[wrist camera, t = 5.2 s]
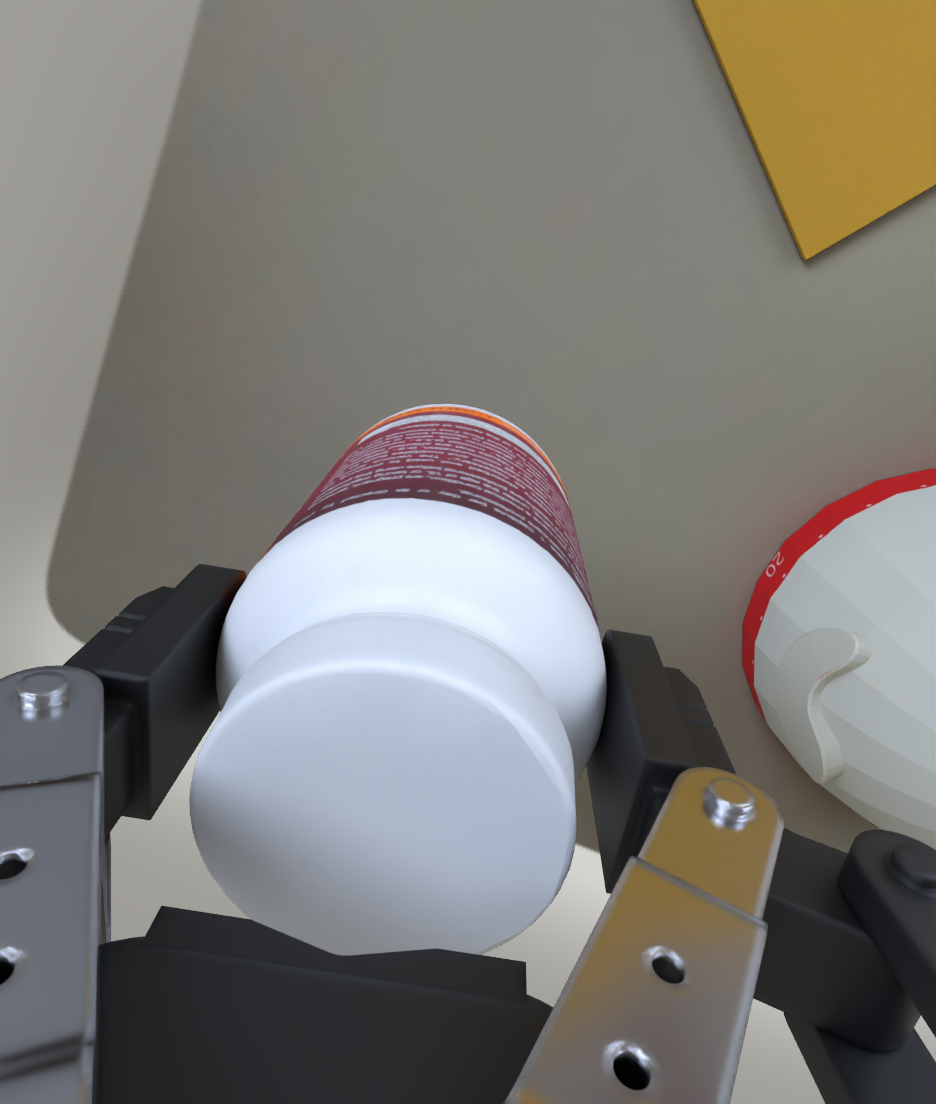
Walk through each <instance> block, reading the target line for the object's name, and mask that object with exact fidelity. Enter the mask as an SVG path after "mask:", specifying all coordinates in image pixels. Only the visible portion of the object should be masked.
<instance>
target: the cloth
mask: <svg viewBox="0 0 936 1104" xmlns="http://www.w3.org/2000/svg"><path fill="white" fill-rule="evenodd" d="M693 2H694V5H695V7H696V9H697V12H698V14H699V16H700V19H701V21H702V24H703V26H704V28H705V31H706V33H707V35H708V38H709V40H710V42H711V45H712V47H713V49H714V52H715V54H716V57H717V59H718V61H719V64H720V66H721V68H722V71H723V73H724V75H725V78H726V80H727V82H728V85H729V87H730V90H731V92H732V94H733V97H734V99H735V101H736V104H737V106H738V108H739V111H740V113H741V116H742V118H743V120H744V123H745V125H746V127H747V130H748V132H749V134H750V137H751V139H752V141H753V144H754V146H755V149H756V151H757V153H758V156H759V158H760V160H761V163H762V165H763V167H764V170H765V172H766V174H767V177H768V179H769V182H770V184H771V186H772V189H773V191H774V193H775V196H776V198H777V200H778V203H779V205H780V207H781V210H782V212H783V215H784V217H785V219H786V222H787V224H788V226H789V229H790V231H791V233H792V236H793V238H794V241H795V243H796V245H797V248H798V250H799V252H800V255H801V257H802V259H803V260H808V259H809V258H811V257H813V256H814V255H816V254H818V253H820V252H821V251H823V250H825V249H826V248H828V247H830V246H832V245H833V244H835V243H837V242H838V241H840V240H842V239H844V238H845V237H847V236H849V235H850V234H852V233H854V232H856V231H857V230H859V229H861V228H862V227H864V226H866V225H868V224H869V223H871V222H873V221H874V220H876V219H878V218H880V217H881V216H883V215H885V214H886V213H888V212H890V211H892V210H893V209H895V208H897V207H898V206H900V205H902V204H904V203H905V202H907V201H909V200H910V199H912V198H914V197H916V196H917V195H919V194H921V193H922V192H924V191H926V190H928V189H929V188H931V187H933V186H934V185H936V0H693Z"/></svg>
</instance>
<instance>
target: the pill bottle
mask: <svg viewBox="0 0 936 1104" xmlns="http://www.w3.org/2000/svg"><path fill="white" fill-rule="evenodd" d="M216 688H217V695H218V702H219V707H220V712H221V713H220V715H219V717H218V719H217V721H216V722H215V724H214V726H213V728H212V729H211V731H210V733H209V735H208V736H207V738H206V740H205V742H204V744H203V746H202V749H201V751H200V753H199V755H198V759H197V762H196V765H195V769H194V773H193V778H192V783H191V789H190V815H191V823H192V829H193V834H194V837H195V841H196V844H197V846H198V849H199V851H200V854H201V856H202V858H203V861H204V863H205V865H206V867H207V868H208V870H209V872H210V874H211V876H212V877H213V879H214V880H215V881H216V883H217V884H218V885H219V886H220V888H221V889H222V890H223V892H224V893H225V894H226V895H227V896H228V897H229V898H230V900H231V901H232V902H234V904H235V905H236V906H237V907H238V908H239V909H240V910H241V911H242V912H243V913H244V914H246V915H247V916H248V917H249V918H250V919H252V920H253V921H256V922H258V923H260V924H263V925H265V926H268V927H270V928H272V929H275V930H277V931H280V932H282V933H284V934H287V935H289V936H291V937H294V938H296V939H299V940H301V941H303V942H306V943H308V944H311V945H313V946H315V947H318V948H320V949H322V950H325V951H327V952H330V953H333V954H336V955H361V954H373V953H385V952H398V951H410V950H422V949H435V948H438V949H444V950H451V951H457V952H464V953H470V954H477V955H481V954H483V953H486V952H488V951H490V950H492V949H494V948H496V947H498V946H501V945H502V944H504V943H506V942H508V941H510V940H511V939H513V938H515V937H516V936H517V935H519V934H520V933H521V932H523V931H524V930H525V929H527V928H528V927H529V926H530V925H532V924H533V922H535V921H536V920H537V919H538V918H539V917H540V916H541V915H542V913H543V912H544V911H545V910H546V909H547V907H548V906H549V905H550V904H551V903H552V901H553V900H554V898H555V896H556V895H557V894H558V892H559V890H560V889H561V886H562V884H563V882H564V880H565V878H566V875H567V873H568V871H569V869H570V866H571V861H572V858H573V854H574V848H575V840H576V806H575V782H576V781H577V779H578V778H579V777H580V775H581V773H582V771H583V769H584V768H585V767H586V765H587V763H588V761H589V759H590V757H591V755H592V753H593V751H594V749H595V746H596V743H597V740H598V738H599V735H600V731H601V728H602V723H603V719H604V714H605V707H606V694H607V678H606V666H605V660H604V654H603V649H602V644H601V639H600V635H599V628H598V622H597V616H596V613H595V610H594V607H593V603H592V598H591V594H590V591H589V586H588V581H587V577H586V571H585V568H584V564H583V560H582V556H581V552H580V548H579V543H578V539H577V535H576V530H575V526H574V522H573V518H572V514H571V509H570V505H569V501H568V497H567V494H566V491H565V488H564V485H563V483H562V481H561V479H560V477H559V475H558V473H557V471H556V470H555V468H554V466H553V465H552V463H551V461H550V460H549V459H548V457H547V456H546V454H545V453H544V452H543V450H542V449H541V448H540V447H539V446H538V445H537V444H536V442H535V441H534V440H533V439H532V438H531V437H529V436H528V435H527V434H526V433H525V432H524V431H522V430H521V429H520V428H518V427H517V426H515V425H514V424H513V423H511V422H509V421H507V420H505V419H504V418H502V417H500V416H497V415H495V414H493V413H490V412H488V411H485V410H482V409H478V408H474V407H469V406H465V405H456V404H433V405H424V406H419V407H414V408H410V409H407V410H404V411H401V412H398V413H396V414H394V415H392V416H389V417H387V418H386V419H384V420H382V421H380V422H378V423H377V424H375V425H374V426H372V427H371V428H370V429H368V430H367V431H366V432H365V433H363V434H362V435H361V436H360V437H359V438H358V439H357V440H356V441H355V442H354V443H353V444H352V445H351V446H350V447H349V448H348V449H347V450H346V452H345V453H344V454H343V455H342V457H341V458H340V459H339V461H338V462H337V463H336V464H335V466H334V467H333V468H332V470H331V471H330V472H329V473H328V475H327V476H326V477H325V479H324V480H323V481H322V482H321V484H320V485H319V486H318V487H317V488H316V490H315V491H314V492H313V493H312V495H311V496H310V497H309V499H308V500H307V501H306V502H305V504H304V505H303V506H302V507H301V508H300V509H299V511H298V512H297V514H296V515H295V516H294V517H293V519H292V520H291V521H290V522H289V524H288V525H287V526H286V527H285V528H284V530H283V531H282V532H281V533H280V535H279V536H278V537H277V538H276V540H275V541H274V542H273V544H272V545H271V546H270V548H269V549H268V550H267V551H266V552H265V554H264V555H263V556H262V558H261V559H260V560H259V562H258V563H257V564H256V565H255V566H254V568H253V569H252V570H251V571H250V573H249V575H248V576H247V578H246V580H245V582H244V583H243V584H242V586H241V587H240V589H239V590H238V592H237V594H236V596H235V598H234V600H233V602H232V604H231V606H230V609H229V611H228V613H227V615H226V618H225V621H224V624H223V628H222V631H221V635H220V639H219V644H218V650H217V659H216Z"/></svg>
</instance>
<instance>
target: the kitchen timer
mask: <svg viewBox="0 0 936 1104" xmlns="http://www.w3.org/2000/svg"><path fill="white" fill-rule="evenodd" d="M742 666H743V669H744V672H745V675H746V677H747V680H748V683H749V686H750V689H751V692H752V695H753V698H754V701H755V703H756V705H757V707H758V708H759V710H760V712H761V714H762V716H763V717H764V719H765V721H766V723H767V725H768V726H769V727H770V728H771V730H772V731H773V732H774V734H775V735H776V736H777V737H778V739H779V740H780V741H781V742H782V744H783V745H784V746H785V747H786V749H787V750H788V751H789V752H790V754H791V755H792V756H793V757H794V759H795V760H796V761H797V762H798V764H799V765H800V766H801V767H802V768H803V769H804V770H805V771H806V772H807V773H808V775H809V776H810V777H811V778H812V780H813V781H815V782H816V783H819V784H820V785H821V786H823V787H824V788H825V789H826V790H828V791H829V792H830V793H832V794H833V795H834V796H835V797H837V798H838V799H839V800H841V801H842V802H843V803H845V804H846V805H847V806H849V807H850V808H851V809H853V810H854V811H855V812H857V813H858V814H859V815H861V816H862V817H864V818H865V819H867V820H868V821H870V822H871V823H873V824H874V825H876V826H877V827H879V828H881V829H882V830H886V831H892V832H896V833H900V834H903V835H906V836H909V837H911V838H913V839H916V840H918V841H920V842H922V843H924V844H926V845H928V846H930V847H932V848H933V849H935V850H936V469H928V470H923V471H919V472H915V473H910V474H906V475H902V476H897V477H893V478H888V479H884V480H880V481H876V482H874V483H872V484H870V485H868V486H866V487H864V488H862V489H860V490H858V491H856V492H854V493H852V494H850V495H848V496H846V497H844V498H842V499H840V500H838V501H836V502H834V503H832V504H830V505H828V506H826V507H825V508H824V509H822V510H821V511H820V512H819V513H818V514H816V515H815V516H814V517H813V518H812V519H811V520H809V521H808V522H807V523H806V524H805V525H804V526H802V527H801V528H800V529H799V530H798V531H796V532H795V533H794V534H793V535H792V536H791V537H789V538H788V539H787V540H786V541H785V542H784V544H783V545H782V547H781V548H780V549H779V551H778V552H777V554H776V555H775V557H774V558H773V559H772V561H771V562H770V564H769V565H768V566H767V568H766V569H765V571H764V572H763V574H762V575H761V576H760V578H759V579H758V581H757V583H756V586H755V589H754V592H753V595H752V598H751V601H750V604H749V607H748V610H747V612H746V615H745V618H744V621H743V636H742Z"/></svg>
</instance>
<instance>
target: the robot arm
mask: <svg viewBox="0 0 936 1104" xmlns="http://www.w3.org/2000/svg"><path fill="white" fill-rule="evenodd" d="M246 578H247V577H246V573H245V572H244V571H242V570H236V569H229V568H223V567H217V566H211V565H204V564H199V565H198V566H196V567H195V568H194V569H193V570H192V571H191V572H190V573H189V574H188V575H187V576H186V577H185V578H184V579H183V580H182V581H181V582H180V583H179V584H178V585H177V586H176V587H175V588H170V587H164V586H163V587H160V588H158V589H156V590H153V591H151V592H149V593H146V594H144V595H142V596H139V597H137V598H136V599H134V600H133V601H132V602H131V603H130V604H129V605H128V606H127V607H126V608H125V609H124V610H122V611H121V612H120V614H119V617H118V616H116V617H115V618H114V619H113V620H112V621H111V622H109V623H108V624H107V625H106V627H105V630H104V629H102V630H101V631H100V632H99V633H97V634H96V635H95V636H94V637H93V638H92V639H91V640H90V641H89V642H88V643H87V644H85V645H84V646H83V647H82V648H81V649H80V650H79V651H78V652H77V653H76V654H75V655H73V656H72V657H71V658H70V659H69V660H68V661H67V662H66V663H65V664H64V665H63V666H44V667H36V668H31V669H26V670H23V671H20V672H16V673H13V674H11V675H9V676H6V677H4V678H2V679H0V1104H730V1100H731V1095H732V1091H733V1087H734V1082H735V1078H736V1073H737V1068H738V1064H739V1059H740V1054H741V1050H742V1045H743V1041H744V1036H745V1032H746V1027H747V1023H748V1018H749V1014H750V1009H751V1004H752V1000H753V998H754V999H756V1000H759V1001H761V1002H763V1003H765V1004H767V1005H769V1006H772V1007H774V1008H776V1009H779V1010H781V1011H783V1012H784V1016H785V1018H786V1021H787V1024H788V1026H789V1028H790V1030H791V1032H792V1034H793V1036H794V1039H795V1041H796V1042H797V1045H798V1047H799V1049H800V1051H801V1053H802V1055H803V1057H804V1059H805V1062H806V1064H807V1066H808V1068H809V1070H810V1072H811V1074H812V1076H813V1078H814V1080H815V1083H816V1085H817V1087H818V1089H819V1091H820V1093H821V1095H822V1097H823V1099H824V1101H825V1104H936V1062H935V1061H934V1059H933V1057H932V1056H931V1054H930V1052H929V1051H928V1050H927V1048H926V1046H925V1045H924V1043H923V1041H922V1040H921V1039H920V1037H919V1035H918V1034H917V1032H916V1030H915V1029H914V1026H915V1025H916V1022H917V1021H918V1019H919V1018H920V1016H921V1015H922V1017H923V1019H924V1020H925V1022H926V1023H927V1025H928V1026H929V1028H930V1029H931V1031H932V1032H933V1034H934V1035H935V1037H936V850H935V849H933V848H932V847H930V846H928V845H926V844H924V843H922V842H920V841H918V840H916V839H913V838H911V837H909V836H906V835H903V834H900V833H896V832H892V831H886V830H868V831H864V832H862V833H860V834H859V835H858V836H856V838H855V840H854V841H853V844H852V846H851V848H850V850H849V852H848V853H845V852H842V851H840V850H837V849H834V848H832V847H829V846H826V845H824V844H821V843H818V842H816V841H813V840H810V839H808V838H805V837H803V836H800V835H798V834H796V833H793V832H792V831H790V830H788V829H786V828H784V819H783V815H782V813H781V811H780V809H779V807H778V806H777V804H776V803H775V801H774V800H773V799H772V798H771V797H770V796H769V795H768V794H767V793H766V792H765V791H764V790H762V789H761V788H760V787H758V786H757V785H756V784H754V783H752V782H751V781H749V780H747V779H745V778H743V777H741V776H739V775H737V774H736V773H735V771H734V768H733V766H732V764H731V762H730V759H729V757H728V755H727V752H726V750H725V748H724V746H723V743H722V741H721V739H720V737H719V734H718V732H717V730H716V728H715V727H713V724H714V723H713V721H712V718H711V716H710V714H709V712H708V711H706V705H705V703H704V700H703V698H702V696H701V693H700V691H699V689H698V687H697V686H696V685H695V684H694V683H692V682H691V681H690V680H689V679H688V678H687V677H686V676H685V675H684V674H683V673H682V672H681V671H680V670H679V669H675V668H668V667H663V665H662V662H661V659H660V657H659V654H658V651H657V649H656V646H655V643H654V641H653V639H652V637H651V636H645V635H639V634H633V633H626V632H620V631H614V630H608V631H607V632H606V634H605V636H604V638H603V641H602V649H603V654H604V660H605V666H606V678H607V694H606V707H605V714H604V719H603V723H602V728H601V731H600V735H599V738H598V740H597V743H596V746H595V749H594V751H593V753H592V755H591V757H590V759H589V761H588V763H587V771H588V777H589V784H590V790H591V797H592V803H593V810H594V816H595V823H596V829H597V836H598V842H599V849H600V855H601V862H602V868H603V875H604V881H605V888H606V893H610V894H611V895H610V897H609V899H608V901H607V903H606V906H605V907H604V909H603V911H602V913H601V915H600V917H599V919H598V921H597V923H596V925H595V927H594V929H593V931H592V933H591V935H590V937H589V939H588V941H587V943H586V945H585V947H584V949H583V951H582V953H581V955H580V957H579V959H578V961H577V962H576V965H575V966H574V969H573V970H572V972H571V974H570V976H569V978H568V980H567V982H566V984H565V986H564V988H563V990H562V992H561V994H560V996H559V998H558V1000H557V1002H556V1004H555V1006H554V1008H553V1007H551V1006H549V1005H548V1004H546V1003H544V1002H542V1001H541V1000H538V999H536V998H534V997H532V996H529V995H527V994H526V993H527V992H526V962H522V961H515V960H509V959H502V958H496V957H489V956H483V955H477V954H470V953H464V952H457V951H451V950H444V949H438V948H435V949H422V950H410V951H398V952H385V953H373V954H361V955H336V954H333V953H330V952H327V951H325V950H322V949H320V948H318V947H315V946H313V945H311V944H308V943H306V942H303V941H301V940H299V939H296V938H294V937H291V936H289V935H287V934H284V933H282V932H280V931H277V930H275V929H272V928H270V927H268V926H265V925H263V924H260V923H258V922H256V921H253V920H250V919H244V918H237V917H231V916H223V915H217V914H210V913H204V912H198V911H191V910H185V909H179V908H172V907H166V906H161V908H160V910H159V911H158V913H157V915H156V917H155V919H154V921H153V923H152V925H151V926H150V928H149V930H148V932H147V934H146V936H145V937H135V938H128V939H123V940H118V941H112V942H111V842H110V831H111V830H112V829H113V827H114V826H115V824H116V823H117V821H118V819H119V818H120V817H121V816H126V817H132V818H139V819H145V820H151V818H152V817H153V815H154V814H155V812H156V810H157V809H158V807H159V806H160V804H161V803H162V801H163V799H164V798H165V796H166V795H167V793H168V792H169V790H170V788H171V787H172V785H173V783H174V782H175V780H176V779H177V777H178V776H179V774H180V773H181V771H182V769H183V768H184V766H185V765H186V763H187V761H188V760H189V758H190V757H191V755H192V754H193V752H194V751H195V749H196V747H197V746H198V744H199V743H200V741H201V739H202V738H203V736H204V735H205V733H206V732H207V730H208V728H209V727H210V725H211V724H212V722H213V721H214V719H215V717H216V716H217V714H218V712H219V711H220V707H219V702H218V695H217V688H216V659H217V650H218V644H219V639H220V635H221V631H222V628H223V624H224V621H225V618H226V615H227V613H228V611H229V609H230V606H231V604H232V602H233V600H234V598H235V596H236V594H237V592H238V590H239V589H240V587H241V586H242V584H243V583H244V582H245V580H246Z"/></svg>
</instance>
